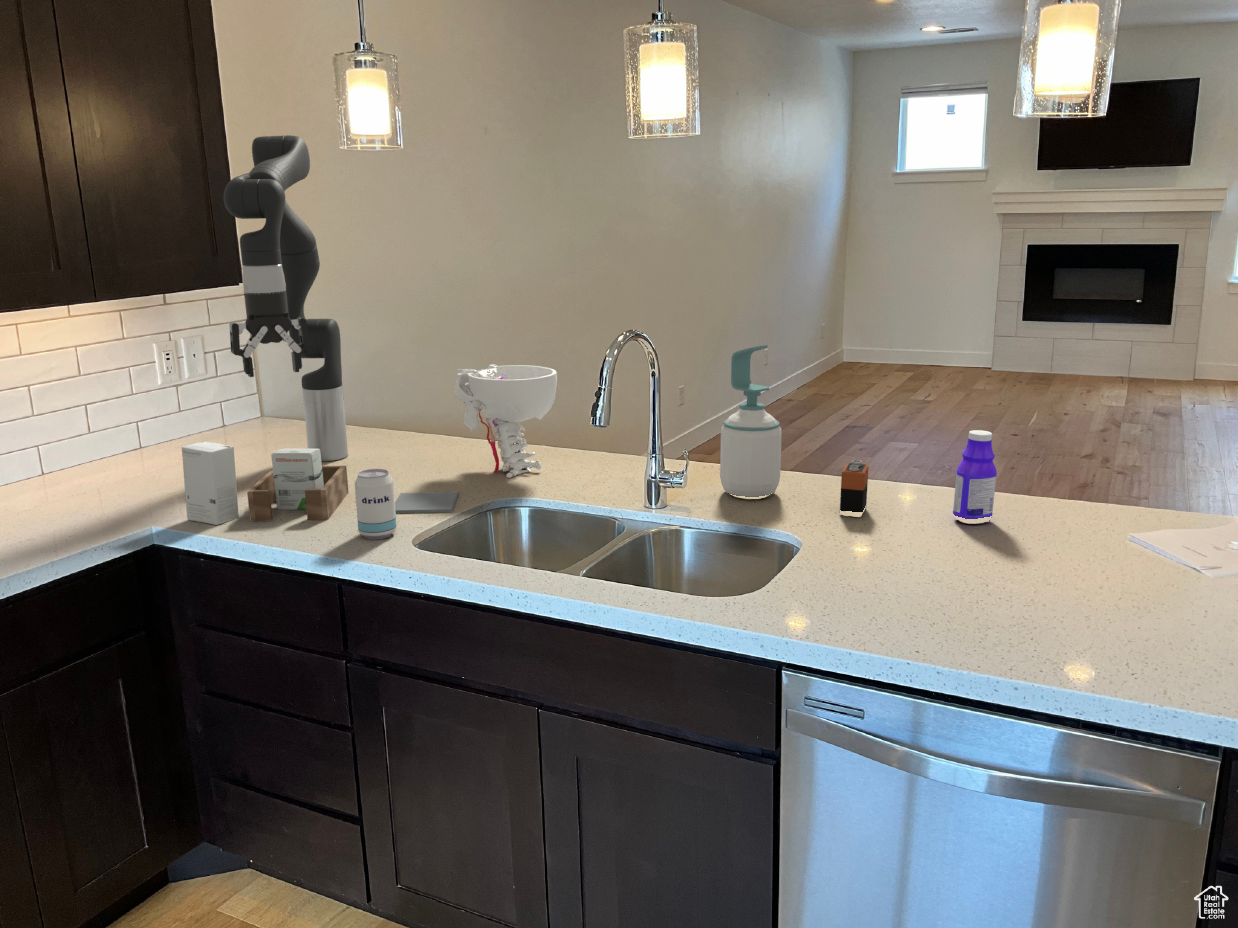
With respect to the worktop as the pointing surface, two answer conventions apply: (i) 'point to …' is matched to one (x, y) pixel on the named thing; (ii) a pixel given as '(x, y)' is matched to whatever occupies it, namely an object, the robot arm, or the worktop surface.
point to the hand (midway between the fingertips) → (273, 374)
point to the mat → (425, 502)
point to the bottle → (976, 478)
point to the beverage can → (375, 503)
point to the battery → (854, 486)
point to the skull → (507, 407)
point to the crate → (317, 500)
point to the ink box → (296, 476)
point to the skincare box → (210, 482)
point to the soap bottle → (749, 438)
